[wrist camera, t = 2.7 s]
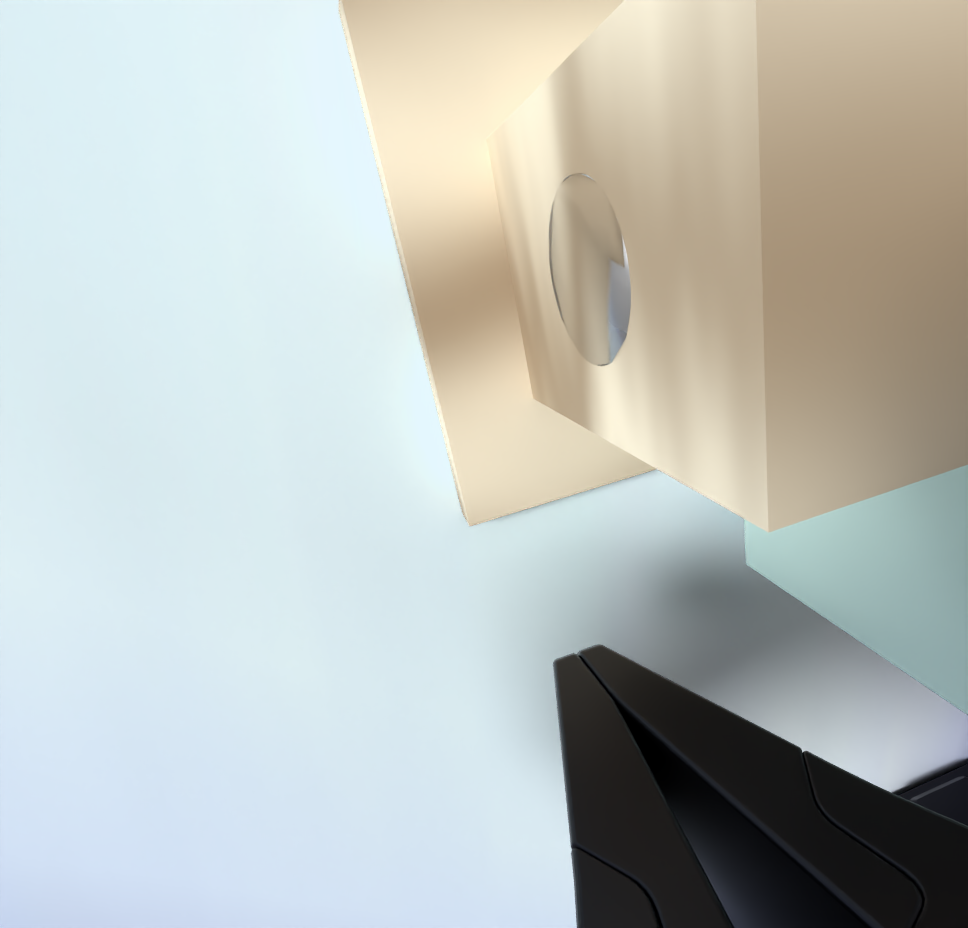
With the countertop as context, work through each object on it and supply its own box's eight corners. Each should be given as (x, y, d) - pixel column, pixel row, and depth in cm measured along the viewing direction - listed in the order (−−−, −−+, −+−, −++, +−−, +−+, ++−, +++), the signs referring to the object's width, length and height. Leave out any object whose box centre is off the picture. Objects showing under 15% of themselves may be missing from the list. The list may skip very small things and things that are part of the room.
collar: (826, 535, 15) (1140, 695, 9) (745, 564, 14) (1020, 750, 8) (836, 27, 11) (1420, -278, 5) (724, 47, 10) (1216, -261, 4)
